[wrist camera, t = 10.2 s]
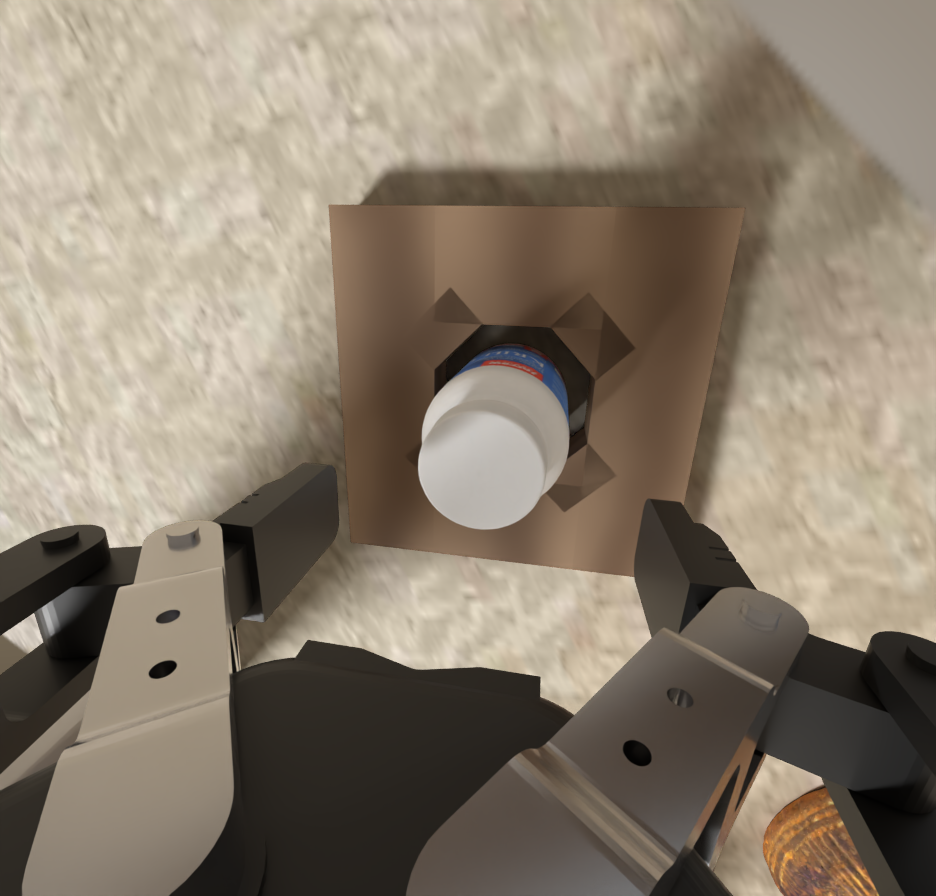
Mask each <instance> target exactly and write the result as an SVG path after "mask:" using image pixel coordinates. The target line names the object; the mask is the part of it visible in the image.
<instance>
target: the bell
mask: <svg viewBox="0 0 936 896" xmlns="http://www.w3.org/2000/svg"><path fill="white" fill-rule="evenodd" d="M823 790H824V791H823ZM815 794H816V795H815ZM822 795H823V796H822ZM831 826H832V827H831ZM818 832H819V833H818ZM772 836H773V837H772ZM793 836H794V837H793ZM808 837H809V838H808ZM810 837H811V838H810ZM780 838H781V839H780ZM806 838H807V839H806ZM785 844H786V845H785ZM765 845H766V846H765ZM776 849H777V850H776ZM795 850H796V851H795ZM763 853H764V857H765V860H766V862H767V864H768V867H769V870H770V873H771V875H772V877H773V879H774V882H775V884H776V886H777V887H778V889H779V890H780V892H781V893H782V894H783V895H784V896H879V894H878V892H877V890H876V888H875V886H874V884H873V882H872V880H871V878H870V876H869V874H868V872H867V870H866V868H865V866H864V864H863V862H862V860H861V858H860V856H859V854H858V852H857V850H856V848H855V846H854V844H853V842H852V840H851V838H850V836H849V834H848V831H847V829H846V827H845V825H844V823H843V821H842V819H841V817H840V815H839V813H838V811H837V809H836V807H835V805H834V803H833V801H832V799H831V797H830V795H829V793H828V791H827V789H826V787H825V788H823V789H820V790H816V791H813V792H810V793H808V794H806V795H804V796H802V797H800V798H799V799H797V800H795V801H794V802H792V803H791V804H789V805H788V806H786V807H785V808H783V809H782V811H781V812H780V813H778V814H777V815H776V816H775V818H774V819H773V820H772V821H771V823H770V825H769V826H768V827H767V830H766V832H765V835H764V843H763ZM786 864H788V865H786ZM781 866H782V867H781ZM833 866H834V867H833ZM799 874H800V875H799ZM836 880H837V881H836ZM836 883H837V884H836ZM835 884H836V885H835ZM839 887H840V888H839Z"/></svg>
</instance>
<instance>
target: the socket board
mask: <svg viewBox="0 0 936 896" xmlns="http://www.w3.org/2000/svg"><path fill="white" fill-rule="evenodd" d="M744 212H745V208H705V207H569V206H433V205H329V217H330V232H331V248H332V263H333V278H334V294H335V309H336V324H337V340H338V355H339V370H340V386H341V401H342V416H343V432H344V447H345V462H346V478H347V493H348V508H349V524H350V539H351V542H352V543H361V544H369V545H377V546H385V547H393V548H401V549H410V550H418V551H426V552H434V553H442V554H450V555H459V556H467V557H475V558H483V559H491V560H499V561H508V562H516V563H524V564H532V565H540V566H549V567H557V568H565V569H573V570H581V571H589V572H598V573H606V574H614V575H622V576H630V577H634V558H635V552H636V546H637V541H638V535H639V530H640V524H641V519H642V513H643V508H644V504H645V502H646V500H647V499H659V500H668V501H678V502H681V503H682V505H683V506H684V501H685V496H686V491H687V487H688V482H689V477H690V472H691V467H692V463H693V458H694V453H695V448H696V443H697V438H698V434H699V429H700V424H701V419H702V414H703V410H704V405H705V400H706V395H707V390H708V386H709V381H710V376H711V371H712V366H713V361H714V357H715V352H716V347H717V342H718V337H719V333H720V328H721V323H722V318H723V313H724V309H725V304H726V299H727V294H728V289H729V285H730V280H731V275H732V270H733V265H734V260H735V256H736V251H737V246H738V241H739V236H740V232H741V227H742V222H743V217H744ZM484 324H486V325H508V326H530V327H551V329H552V330H553V331H554V332H555V333H556V334H557V335H558V337H559V338H560V339H561V340H562V341H563V342H564V344H565V345H566V346H567V347H568V348H569V349H570V351H571V352H572V353H573V354H574V355H575V356H576V358H577V359H578V360H579V361H580V362H581V363H582V365H583V366H584V367H585V368H586V369H587V370H588V372H589V373H590V382H589V391H588V399H587V407H586V416H585V424H584V428H583V429H582V430H580V431H579V432H578V433H576V434H575V435H574V436H572V437H571V438H570V439H569V450H568V455H567V460H566V463H565V465H564V468H563V470H562V472H561V474H560V476H559V477H558V479H557V480H556V482H555V483H554V484H553V486H552V487H551V488H550V489H549V490H548V491H547V492H546V493H544V494H543V495H542V496H541V497H540V499H539V500H538V502H537V504H536V505H535V506H534V508H533V509H532V510H531V511H530V512H529V513H528V514H527V515H526V516H525V517H523V518H522V519H520V520H519V521H517V522H515V523H513V524H511V525H509V526H505V527H502V528H498V529H474V528H469V527H466V526H463V525H460V524H457V523H455V522H453V521H451V520H450V519H448V518H447V517H445V516H444V515H443V514H441V513H440V512H439V511H438V510H437V509H436V508H435V507H434V506H433V505H432V504H431V502H430V501H429V499H428V498H427V496H426V494H425V492H424V490H423V488H422V485H421V483H420V479H419V473H418V459H419V454H420V450H421V447H422V427H423V422H424V418H425V415H426V412H427V410H428V408H429V406H430V404H431V402H432V400H433V399H434V397H435V396H436V395H437V394H438V392H439V391H440V390H441V389H442V388H443V387H444V386H445V385H446V360H448V359H449V358H450V357H451V356H452V355H453V354H454V353H455V352H456V351H457V350H458V349H459V348H460V347H461V346H462V345H463V344H464V343H465V342H466V341H467V340H468V339H470V338H471V337H472V336H473V335H474V334H475V333H476V332H477V331H478V330H479V329H480V328H481V327H482V326H483V325H484Z"/></svg>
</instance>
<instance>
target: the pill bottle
mask: <svg viewBox="0 0 936 896" xmlns="http://www.w3.org/2000/svg"><path fill="white" fill-rule="evenodd" d="M568 450H569V417H568V397H567V389H566V385H565V382H564V379H563V377H562V374H561V372H560V371H559V369H558V368H557V366H556V365H555V364H554V362H553V361H552V360H551V359H550V358H549V357H547V356H546V355H545V354H544V353H542V352H540V351H539V350H537V349H535V348H532V347H529V346H526V345H522V344H513V343H512V344H501V345H496V346H493V347H490V348H488V349H486V350H484V351H482V352H481V353H479V354H478V355H476V356H475V357H474V358H473V359H472V360H471V361H470V362H469V363H468V364H467V365H466V366H464V367H463V368H462V369H461V370H460V371H459V372H458V373H457V374H456V375H455V376H454V377H453V378H452V379H451V380H450V381H449V382H448V383H447V384H446V385H445V386H444V387H443V388H442V389H441V390H440V391H439V392H438V394H437V395H436V396H435V397H434V399H433V400H432V402H431V404H430V406H429V408H428V410H427V412H426V415H425V418H424V422H423V427H422V447H421V450H420V454H419V459H418V473H419V479H420V483H421V485H422V488H423V490H424V492H425V494H426V496H427V498H428V499H429V501H430V502H431V504H432V505H433V506H434V507H435V508H436V509H437V510H438V511H439V512H440V513H441V514H443V515H444V516H445V517H447V518H448V519H450V520H451V521H453V522H455V523H457V524H460V525H463V526H466V527H469V528H474V529H498V528H502V527H505V526H509V525H511V524H513V523H515V522H517V521H519V520H520V519H522V518H523V517H525V516H526V515H527V514H528V513H529V512H530V511H531V510H532V509H533V508H534V506H535V505H536V504H537V502H538V500H539V499H540V497H541V496H542V495H543V494H544V493H546V492H547V491H548V490H549V489H550V488H551V487H552V486H553V484H554V483H555V482H556V480H557V479H558V477H559V476H560V474H561V472H562V470H563V468H564V465H565V463H566V460H567V455H568Z"/></svg>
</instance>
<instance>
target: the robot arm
mask: <svg viewBox="0 0 936 896" xmlns="http://www.w3.org/2000/svg"><path fill="white" fill-rule="evenodd" d="M338 526H339V510H338V492H337V476H336V471H335V468H334V467H333V466H332V465H323V464H313V463H303V464H301V465H300V466H298V467H297V468H296V469H294V470H293V471H291V472H290V473H289V474H287V475H286V476H284V477H283V478H282V479H279V480H276V481H274V482H271V483H268V484H266V485H264V486H262V487H261V488H259V489H258V490H257V491H255V492H254V493H252V496H251V495H249V496H248V497H246V498H245V499H244V500H242V502H241V503H238V504H236V505H235V506H234V507H232V508H231V509H229V510H228V511H226V512H225V513H223V514H222V515H221V516H219V517H218V518H216V519H215V520H213V521H206V520H192V521H184V522H179V523H175V524H171V525H168V526H165V527H163V528H161V529H159V530H157V531H155V532H153V533H152V534H150V535H149V536H148V537H147V538H146V539H145V540H144V542H143V545H142V546H139V547H121V548H109V545H108V540H107V536H106V532H105V530H104V529H103V528H102V527H99V526H95V525H74V526H67V527H62V528H58V529H54V530H50V531H47V532H44V533H41V534H39V535H36V536H34V537H32V538H30V539H28V540H26V541H24V542H22V543H20V544H18V545H16V546H14V547H12V548H10V549H8V550H6V551H4V552H2V553H0V636H1V635H2V634H3V633H5V632H6V631H8V630H9V629H11V628H12V627H14V626H15V625H17V624H18V623H19V622H21V621H22V620H24V619H25V618H27V617H28V616H30V615H31V614H33V613H34V614H35V617H36V620H37V623H38V626H39V629H40V633H41V636H42V639H43V643H42V644H41V645H39V646H38V647H37V648H35V649H34V650H33V651H31V652H30V653H29V654H27V655H26V656H25V657H24V658H22V659H21V660H19V661H18V662H17V663H15V664H14V665H13V666H12V667H10V668H9V669H7V670H6V671H5V672H3V673H2V674H1V675H0V896H733V895H732V894H731V893H730V892H729V890H728V889H727V888H726V887H725V886H724V884H723V883H722V882H721V881H720V879H719V878H718V877H717V876H716V875H715V873H714V872H713V871H714V868H715V866H716V863H717V861H718V858H719V856H720V853H721V851H722V848H723V846H724V843H725V841H726V839H727V836H728V834H729V832H730V830H731V828H732V826H733V823H734V821H735V819H736V817H737V815H738V813H739V811H740V809H741V807H742V805H743V803H744V801H745V799H746V797H747V794H748V792H749V790H750V788H751V786H752V784H753V782H754V780H755V778H756V776H757V774H758V772H759V770H760V768H761V766H762V763H763V761H764V759H765V757H766V754H768V755H770V756H773V757H775V758H777V759H780V760H782V761H785V762H787V763H789V764H792V765H794V766H796V767H799V768H801V769H803V770H806V771H808V772H811V773H813V774H815V775H818V776H820V777H821V778H822V780H823V783H824V785H825V787H826V789H827V791H828V793H829V795H830V797H831V799H832V801H833V803H834V805H835V807H836V809H837V811H838V813H839V815H840V817H841V819H842V821H843V823H844V825H845V827H846V829H847V831H848V834H849V836H850V838H851V840H852V842H853V844H854V846H855V848H856V850H857V852H858V854H859V856H860V858H861V860H862V862H863V864H864V866H865V868H866V870H867V872H868V874H869V876H870V878H871V880H872V882H873V884H874V886H875V888H876V890H877V892H878V894H879V896H936V643H934V642H932V641H929V640H927V639H924V638H921V637H918V636H914V635H910V634H906V633H901V632H893V631H885V632H879V633H876V634H874V635H873V636H872V638H871V640H870V643H869V645H868V648H867V650H866V652H863V651H860V650H857V649H853V648H850V647H847V646H844V645H841V644H837V643H834V642H831V641H828V640H825V639H822V638H819V637H816V636H813V635H811V634H809V633H808V632H809V625H808V623H807V621H806V619H805V618H804V617H803V615H802V614H801V613H800V612H799V611H797V610H796V609H795V608H794V607H792V606H791V605H789V604H788V603H786V602H785V601H783V600H781V599H779V598H777V597H775V596H773V595H770V594H767V593H765V592H762V591H758V590H757V589H756V588H755V586H754V585H753V583H752V582H751V580H750V579H749V578H748V576H747V575H746V573H745V572H744V570H743V569H742V567H741V566H740V564H739V563H738V562H736V559H735V557H734V556H733V554H732V553H731V551H729V548H728V547H727V546H726V544H725V543H724V541H723V540H722V538H721V537H720V536H719V535H718V534H716V533H715V532H714V531H712V530H711V529H709V528H708V527H707V526H705V525H704V524H698V523H694V522H693V521H692V519H691V518H690V516H689V514H688V513H687V511H686V509H685V508H684V506H683V505H682V503H681V502H678V501H668V500H659V499H647V500H646V502H645V504H644V508H643V513H642V519H641V524H640V530H639V535H638V541H637V546H636V552H635V558H634V577H635V582H636V586H637V589H638V593H639V596H640V599H641V603H642V606H643V610H644V613H645V616H646V620H647V623H648V627H649V630H650V633H651V637H652V638H651V639H650V640H649V641H648V642H647V643H646V644H645V645H644V646H643V647H642V648H641V649H640V650H639V651H638V652H637V653H636V654H635V655H634V656H633V657H632V658H631V659H630V660H629V661H628V662H627V663H626V664H625V665H624V666H623V667H622V668H621V669H620V670H619V671H618V672H617V673H616V674H615V675H614V676H613V677H612V678H611V679H610V680H609V681H608V682H607V683H606V684H605V685H604V686H603V687H602V688H601V689H600V690H599V691H598V692H597V693H596V694H595V695H594V696H593V697H592V698H591V699H590V700H589V701H588V702H587V703H586V704H585V705H584V706H583V707H582V708H581V709H580V710H579V711H578V712H577V713H576V714H575V715H573V714H572V713H570V712H569V711H567V710H566V709H564V708H562V707H560V706H559V705H557V704H555V703H553V702H551V701H549V700H546V699H544V698H541V697H540V677H538V676H532V675H526V674H519V673H513V672H507V671H501V670H494V669H488V668H482V667H475V668H453V669H430V670H416V669H412V668H409V667H407V666H404V665H402V664H399V663H397V662H394V661H392V660H389V659H387V658H384V657H382V656H379V655H377V654H374V653H372V652H369V651H367V650H364V649H362V648H355V647H349V646H343V645H337V644H330V643H324V642H318V641H311V640H307V642H306V643H305V645H304V646H303V647H302V649H301V650H300V652H299V653H298V655H297V656H296V658H286V659H279V660H273V661H269V662H264V663H260V664H257V665H254V666H251V667H248V668H245V669H242V670H241V665H240V654H239V644H238V635H237V628H236V624H237V623H238V622H239V621H240V619H245V620H252V621H258V622H265V621H266V620H267V619H268V617H269V616H270V615H271V614H272V613H273V612H274V610H275V609H276V608H277V607H278V606H279V605H280V603H281V602H282V601H283V600H284V599H285V597H286V596H287V595H288V594H289V593H290V592H291V590H292V589H293V588H294V587H295V586H296V585H297V583H298V582H299V581H300V580H301V579H302V578H303V576H304V575H305V574H306V573H307V572H308V570H309V569H310V568H311V567H312V566H313V565H314V563H315V562H316V561H317V560H318V559H319V558H320V556H321V555H322V554H323V553H324V552H325V550H326V549H327V548H328V547H329V546H330V545H331V543H332V542H333V541H334V539H335V537H336V534H337V531H338Z"/></svg>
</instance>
